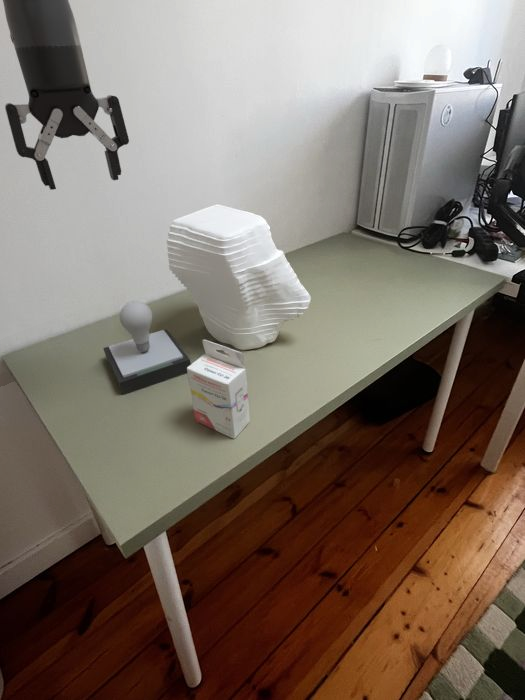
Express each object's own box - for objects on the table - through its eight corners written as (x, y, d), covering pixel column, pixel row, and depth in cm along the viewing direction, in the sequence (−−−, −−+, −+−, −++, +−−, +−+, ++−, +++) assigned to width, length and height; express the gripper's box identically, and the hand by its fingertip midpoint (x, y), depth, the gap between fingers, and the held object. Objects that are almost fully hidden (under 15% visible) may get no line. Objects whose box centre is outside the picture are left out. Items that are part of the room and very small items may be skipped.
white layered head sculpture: (240, 300, 112) (231, 199, 98) (314, 341, 94) (316, 224, 80) (168, 329, 102) (146, 220, 87) (235, 382, 84) (222, 255, 69)
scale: (123, 395, 82) (118, 380, 80) (106, 359, 92) (102, 345, 90) (192, 371, 87) (189, 356, 85) (169, 340, 98) (166, 326, 96)
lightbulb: (153, 339, 91) (143, 292, 85) (164, 353, 87) (153, 304, 81) (125, 349, 89) (112, 301, 83) (134, 363, 84) (121, 313, 78)
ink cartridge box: (194, 422, 75) (181, 352, 67) (212, 405, 78) (201, 336, 70) (234, 440, 71) (226, 367, 62) (251, 422, 74) (245, 351, 66)
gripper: (-18, 44, 47) (33, 197, 56) (114, 40, 52) (141, 180, 61) (-19, 47, 52) (28, 187, 61) (100, 43, 58) (127, 172, 67)
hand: (84, 183), depth 61 cm, fingers open, 8 cm apart
